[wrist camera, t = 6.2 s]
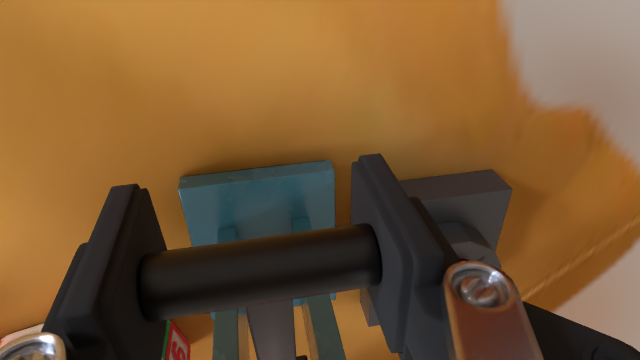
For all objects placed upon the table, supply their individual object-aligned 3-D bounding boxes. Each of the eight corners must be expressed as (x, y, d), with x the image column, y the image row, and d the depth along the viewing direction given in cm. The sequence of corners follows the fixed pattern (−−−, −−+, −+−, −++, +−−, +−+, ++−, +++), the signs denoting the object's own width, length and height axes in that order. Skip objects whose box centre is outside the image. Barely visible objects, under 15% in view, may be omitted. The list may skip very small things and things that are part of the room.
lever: (143, 222, 9) (128, 326, 7) (363, 194, 10) (393, 284, 8) (225, 393, 18) (226, 458, 16) (337, 372, 19) (350, 432, 17)
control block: (364, 185, 24) (386, 228, 21) (492, 168, 25) (532, 208, 22) (359, 301, 29) (376, 350, 26) (464, 284, 30) (493, 329, 27)
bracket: (179, 176, 21) (137, 396, 12) (330, 159, 22) (407, 346, 13) (212, 305, 27) (202, 528, 17) (332, 286, 28) (387, 485, 18)
